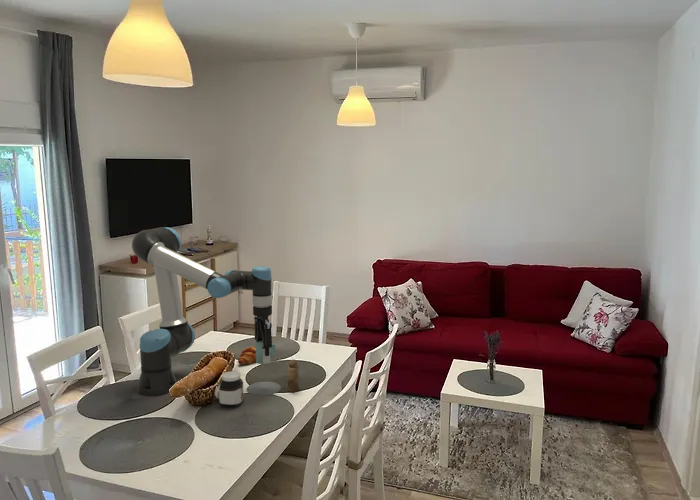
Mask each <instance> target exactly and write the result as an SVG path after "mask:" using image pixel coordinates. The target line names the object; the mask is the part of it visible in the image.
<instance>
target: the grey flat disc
mask: <svg viewBox="0 0 700 500" xmlns="http://www.w3.org/2000/svg"><path fill="white" fill-rule="evenodd" d="M245 389H246V392H247V393H248V394H250V395H253V396H261V397H263V396H270V395H274V394H275V395H276V394H277V393H278V392H280V391H281V390H282V385H280V384H279V383H277V382H275V381H258V382H254V383H252V384H249V385H247V387H246V388H245Z"/></svg>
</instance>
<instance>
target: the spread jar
mask: <svg viewBox="0 0 700 500" xmlns="http://www.w3.org/2000/svg"><path fill="white" fill-rule="evenodd" d="M214 396H215V398H217V399H219V403H220V405H221V406H223V407H224V408H236V407H238V406H239V407H240V406H241V404H242V403H243V400H244V381H243V379H242V378H241V373H240V372H239V371H226V372H223V373H222V374H221V382H220V383H219V385H218V386H217V387H216V389H215V392H214Z"/></svg>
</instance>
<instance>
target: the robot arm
mask: <svg viewBox="0 0 700 500" xmlns="http://www.w3.org/2000/svg"><path fill="white" fill-rule="evenodd" d="M131 247H132V249H131V250H132V252H133V254H134V255H135V256H136V257H137V258H138V259H140V260H141V261H142V262H145V263H146V264H149V265H150V266H151V265H152V266H153V269H154V275H155V281H156V288H157V294H158V300H159V307H160V308H159V309H160V314H161V320H162V321H161V322H160V323H159V328H157V329H156V328H155V329H154V330H148V331H146V332H144V333H143V334H142V335H141V336H140V339H139V351H140V354H139V355H140V366H141V368H140V371H141V373H140V375H139V380H138V382H137V393H139V394H140V395H142V396H153V397H154V396H160V395H166V394H169V393H170V392H169V389H170V388H171V387H172V386H173V385H174V384H175V383H176V382H177V383H178V381H177V378H176V376H175V373H174V371H173V368H172V358H174V357H176V356H177V355H179V354H181V353H184V352H187V350H188V349H190V348H191V347H192V346H193V345H194V343H195V339H196V334H195V333H196V332H195V330H194V327H192V325H191V324H189V322H188V319H187V318H185V317H184V313H183V307H182V301H181V299H182V298H181V292H180V288H179V287H180V286H179V282H178V281H179V279H178V276H179V277H182V278H183V279H186V280H187V281H189V282H192V283H193V284H196V285H197V286H200V287H201V288H204V289H205V290H207V293H208V294H209V295H210V297H212V298H214V299H221V298H225V297H227V296H229V295H232V294H233V293H236V292H238V291H240V290H245V291H246V290H247V291H252V305H253V306H252V315H253V316H254V317H253V320H254V340H255V341H256V342H257V341H261V340H263V346H264V347H262V349H263V364H262V365H267V364H266V363H268V364H270V363H271V362H270V348H271V347H272V344H273V337H272V336H273V334H272V326H273V324H272V322H270V320H269V316H271V315H272V314H273V306H272V302H273V300H272V299H273V296H272V292H273V291H272V279H273V277H272V270H271V268H270V267H269V266H266V265H265V266H264V265H263V266H262V265H261V266H258V265H257V266H254V267H252V268H251V271H249V270H237V269H233V270H230V269H229V270H227V271H225V273H224V274H221V273H220V272H217V271H215V270H213V269H211V268H210V267H207V266H205V265H203V264H201V263H198V262H196V261H194V260H192V259H190V258H188V256H187V257H186V256H184V255H182V254H180V253H179V252H178V251H180V248H181V247H182V240H181V237H180V234H179V233H178V232H177V231H176V230H175V229H174V228H171V227H166V226H165V227H164V226H163V227H156V228H151V229H143V230H141V231H139V232H137V234H136V235H135V236H134V237H133V239H132V242H131ZM256 342H255V343H256Z"/></svg>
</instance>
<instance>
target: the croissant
mask: <svg viewBox="0 0 700 500" xmlns="http://www.w3.org/2000/svg"><path fill="white" fill-rule="evenodd" d="M237 363H238V364H239V365H244V366H245V365H251V364H255V363H256V346H249V347H246V348H244V349H243V350H242V351H241V354H240V356H239V358H238V361H237ZM256 364H257V363H256Z"/></svg>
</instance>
